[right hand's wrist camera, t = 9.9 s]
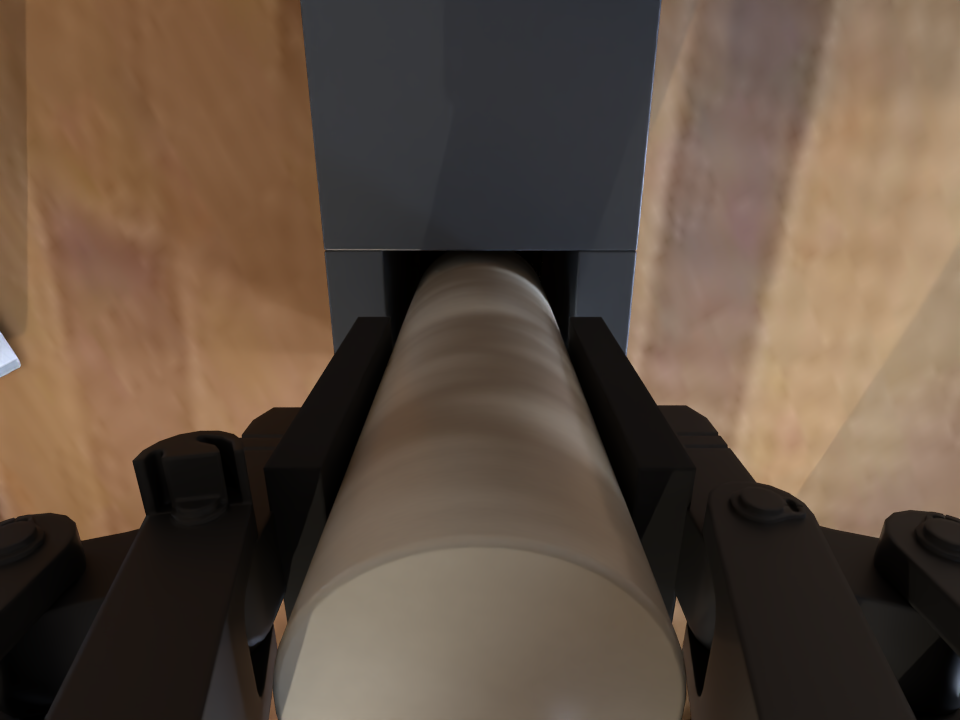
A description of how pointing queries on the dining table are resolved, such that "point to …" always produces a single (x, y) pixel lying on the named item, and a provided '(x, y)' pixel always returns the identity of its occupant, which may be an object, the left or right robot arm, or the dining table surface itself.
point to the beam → (480, 144)
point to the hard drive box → (7, 357)
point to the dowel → (479, 534)
